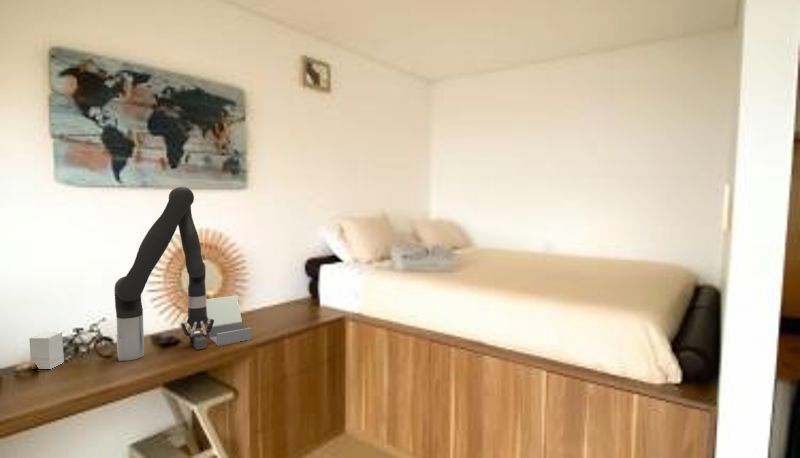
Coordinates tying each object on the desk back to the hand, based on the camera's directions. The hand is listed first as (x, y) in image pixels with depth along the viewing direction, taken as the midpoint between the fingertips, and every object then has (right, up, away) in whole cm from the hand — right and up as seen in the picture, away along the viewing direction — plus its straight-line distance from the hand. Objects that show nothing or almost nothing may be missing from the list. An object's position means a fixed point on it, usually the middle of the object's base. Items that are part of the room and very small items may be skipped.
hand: (198, 343), depth 195 cm
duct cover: (+5, +12, +16) cm, 20 cm away
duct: (+11, 0, +9) cm, 14 cm away
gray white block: (0, -1, 0) cm, 1 cm away
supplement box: (-46, -3, -25) cm, 53 cm away
